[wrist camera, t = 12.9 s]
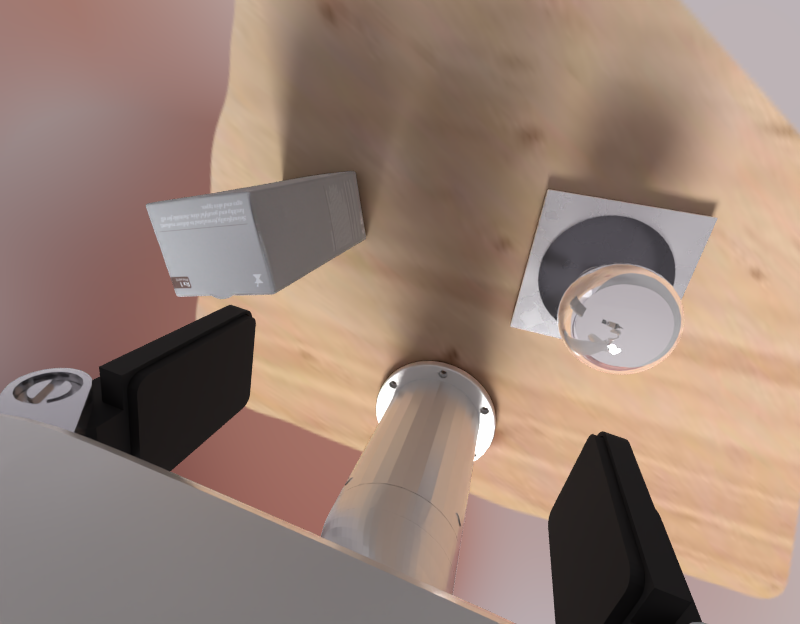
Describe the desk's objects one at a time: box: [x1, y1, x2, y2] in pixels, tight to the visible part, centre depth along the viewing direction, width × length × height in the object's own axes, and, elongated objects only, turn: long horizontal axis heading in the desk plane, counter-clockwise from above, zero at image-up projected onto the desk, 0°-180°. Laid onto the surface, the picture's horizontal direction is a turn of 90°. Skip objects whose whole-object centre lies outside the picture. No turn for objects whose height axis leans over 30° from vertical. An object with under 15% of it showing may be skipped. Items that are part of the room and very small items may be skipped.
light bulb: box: [557, 262, 684, 374], centre depth 27 cm, size 7×7×12 cm
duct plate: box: [510, 189, 717, 339], centre depth 33 cm, size 12×12×1 cm
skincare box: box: [146, 171, 366, 299], centre depth 32 cm, size 8×7×16 cm
